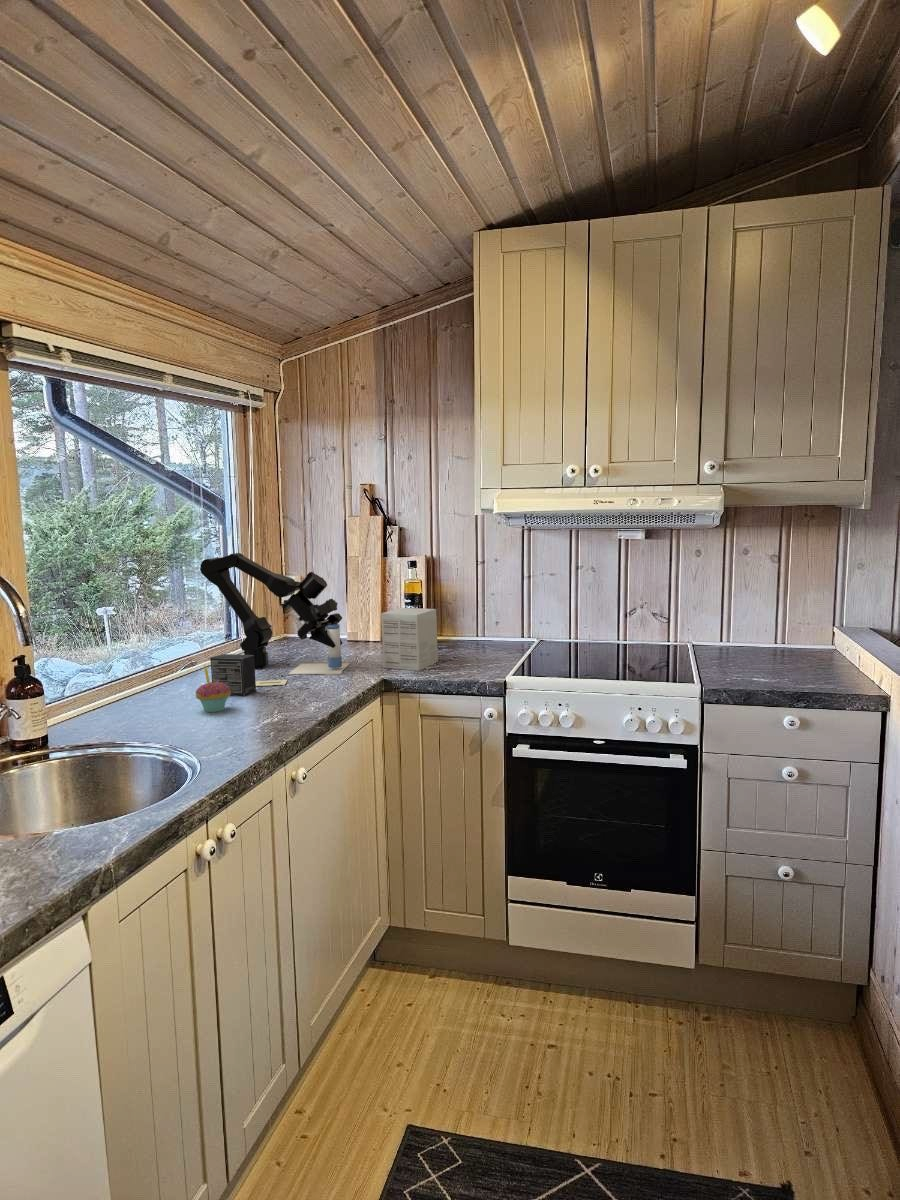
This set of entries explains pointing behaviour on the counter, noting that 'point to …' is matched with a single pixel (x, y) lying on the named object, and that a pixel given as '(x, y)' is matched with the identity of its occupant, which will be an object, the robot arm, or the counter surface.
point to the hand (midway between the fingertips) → (337, 645)
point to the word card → (271, 682)
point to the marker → (335, 652)
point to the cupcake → (213, 695)
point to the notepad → (318, 668)
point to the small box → (234, 672)
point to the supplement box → (409, 638)
